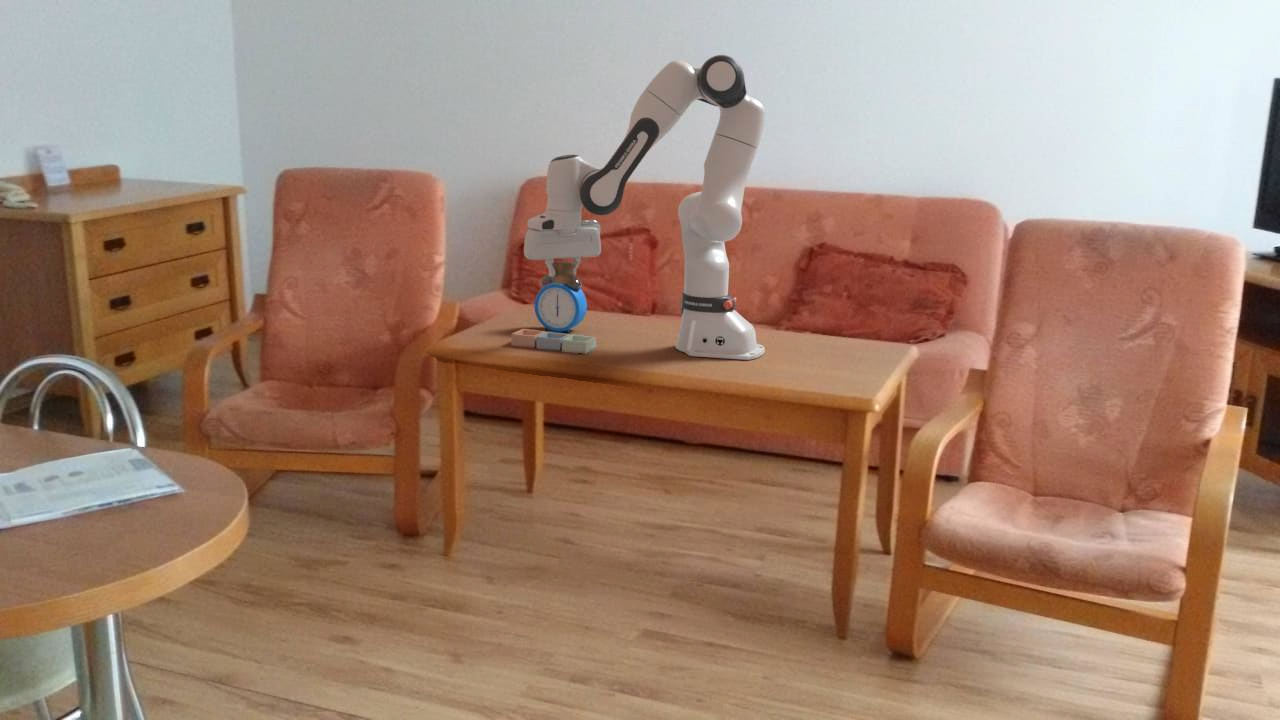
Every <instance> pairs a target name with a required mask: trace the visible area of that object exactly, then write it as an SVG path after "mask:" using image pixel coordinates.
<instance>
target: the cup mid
mask: <svg viewBox="0 0 1280 720" xmlns="http://www.w3.org/2000/svg"><path fill="white" fill-rule="evenodd" d="M569 336H571V334H570V333H562V332H555V331H546V333H544V334H542V335H539V336H537V347H536V349H538V350H547V351H554V352H562V340H563V339H565V338H567V337H569Z"/></svg>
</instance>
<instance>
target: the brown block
mask: <svg viewBox="0 0 1280 720" xmlns="http://www.w3.org/2000/svg"><path fill="white" fill-rule="evenodd" d="M551 264H552V266H553V268H554V269H557V276H555V277H552V282H551V283H553V282H554V283H557V284H571V283H573V276H574V277H575V275H574V264H573V262H570V261H566V260H565V261H564V260H563V261H554V262H553V263H551Z"/></svg>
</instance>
